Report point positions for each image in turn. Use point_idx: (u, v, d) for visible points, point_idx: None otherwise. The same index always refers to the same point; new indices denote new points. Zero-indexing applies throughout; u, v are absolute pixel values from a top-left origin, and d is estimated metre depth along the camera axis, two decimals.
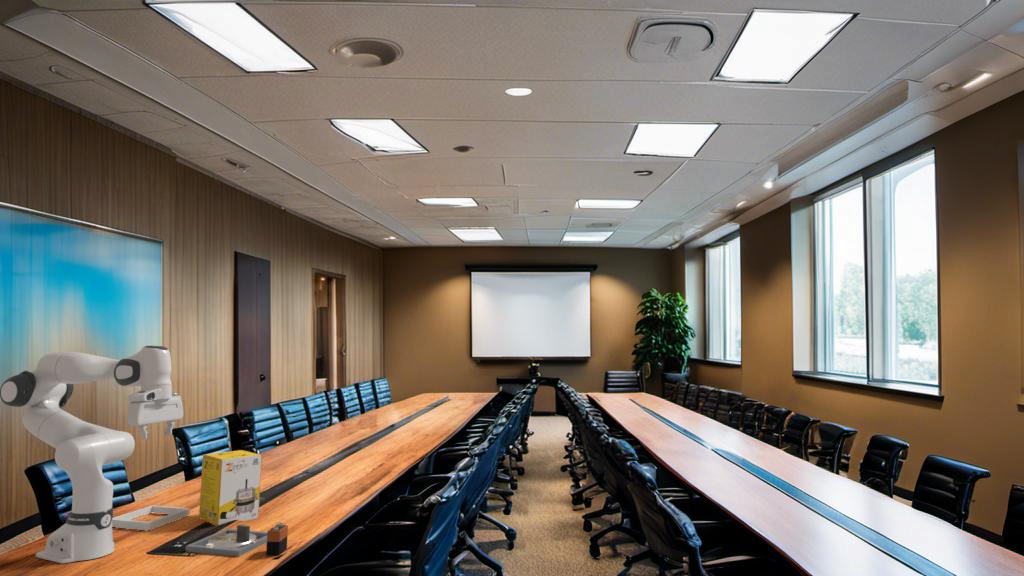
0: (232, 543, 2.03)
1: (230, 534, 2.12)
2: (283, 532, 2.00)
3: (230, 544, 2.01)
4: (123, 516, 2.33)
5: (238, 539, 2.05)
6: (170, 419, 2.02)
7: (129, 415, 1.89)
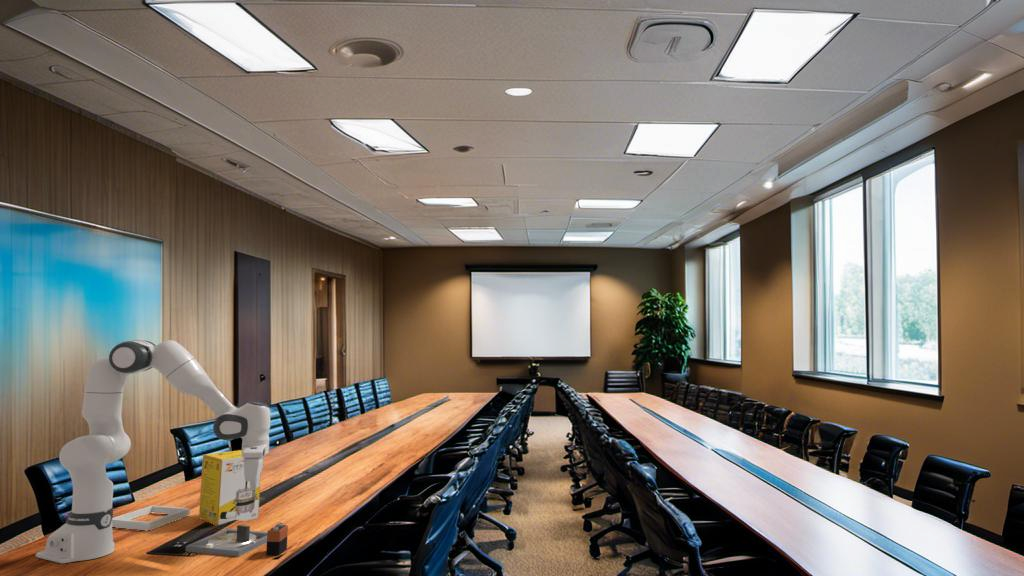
0: (232, 543, 2.03)
1: (230, 534, 2.12)
2: (283, 532, 2.00)
3: (230, 544, 2.01)
4: (123, 516, 2.33)
5: (238, 539, 2.05)
6: None
7: (247, 470, 2.03)
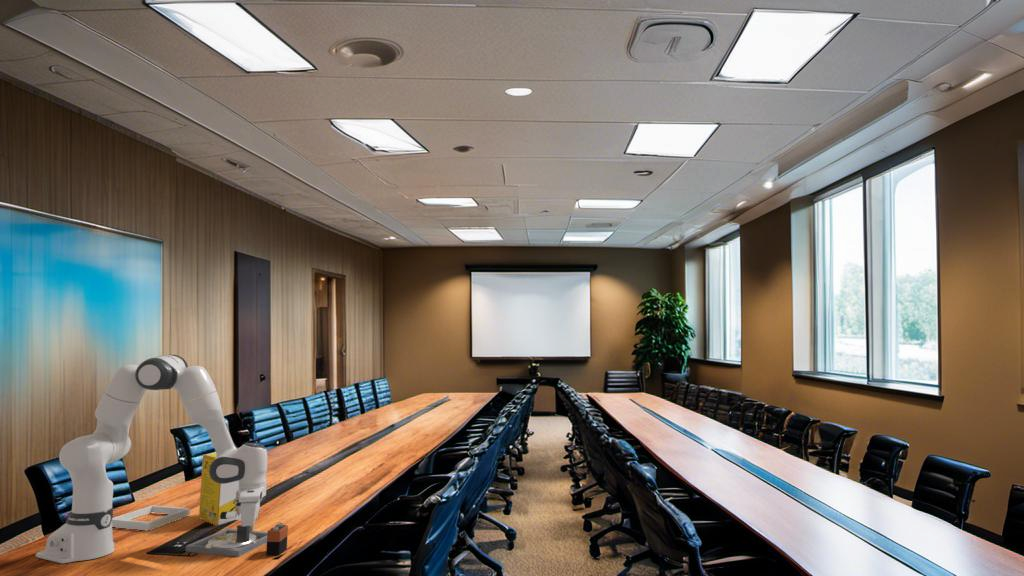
0: (232, 543, 2.03)
1: (230, 534, 2.12)
2: (283, 532, 2.00)
3: (230, 544, 2.01)
4: (123, 516, 2.33)
5: (238, 539, 2.05)
6: (257, 513, 2.13)
7: (244, 515, 1.99)
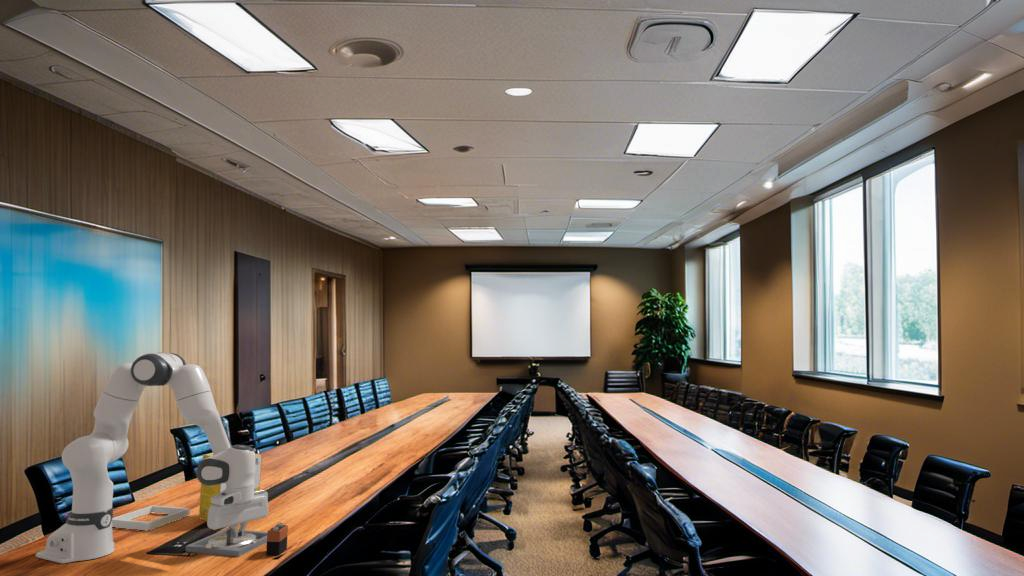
0: (220, 542, 2.03)
1: (246, 534, 2.12)
2: (283, 532, 2.00)
3: (216, 543, 2.02)
4: (123, 516, 2.33)
5: None
6: (252, 519, 2.05)
7: (208, 517, 1.96)
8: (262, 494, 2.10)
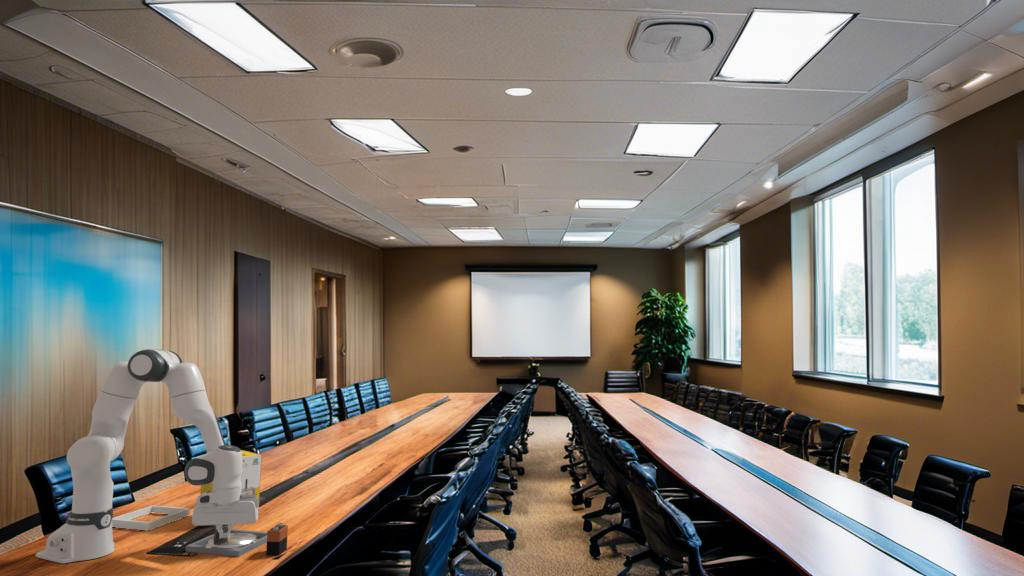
0: None
1: (251, 537, 2.09)
2: (283, 532, 2.00)
3: (214, 540, 2.06)
4: (123, 516, 2.33)
5: None
6: (236, 523, 2.01)
7: None
8: (251, 499, 2.03)
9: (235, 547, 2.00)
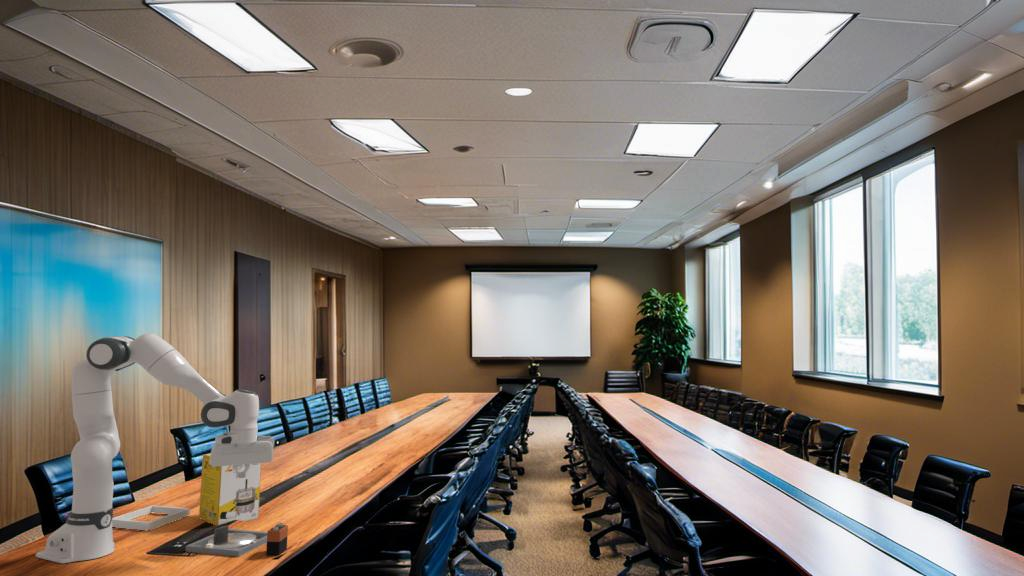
0: None
1: (251, 537, 2.09)
2: (283, 532, 2.00)
3: (214, 540, 2.06)
4: (123, 516, 2.33)
5: None
6: (254, 462, 2.10)
7: (210, 454, 2.05)
8: (268, 440, 2.14)
9: (235, 547, 2.00)
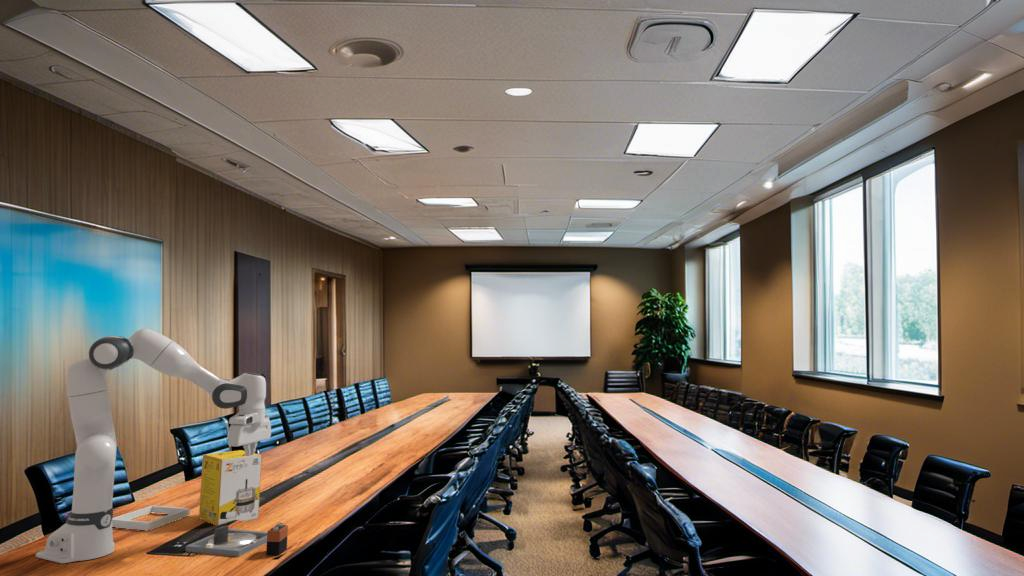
0: None
1: (251, 537, 2.09)
2: (283, 532, 2.00)
3: (214, 540, 2.06)
4: (123, 516, 2.33)
5: None
6: (261, 439, 2.25)
7: (230, 436, 2.12)
8: (266, 418, 2.30)
9: (235, 547, 2.00)
